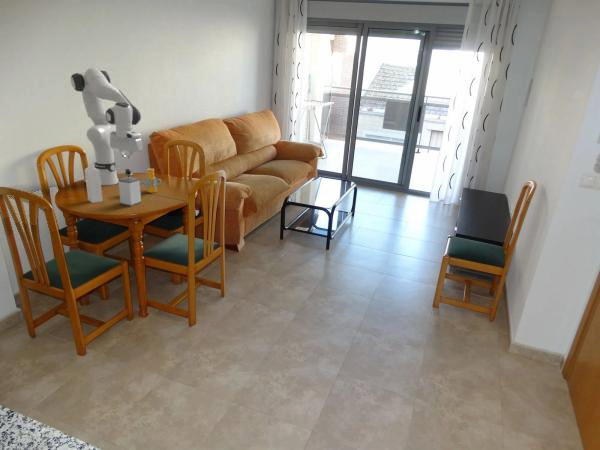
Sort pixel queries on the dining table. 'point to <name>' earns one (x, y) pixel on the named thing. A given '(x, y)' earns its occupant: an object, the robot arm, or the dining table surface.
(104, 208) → the dining table surface
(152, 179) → the yellow and blue toy
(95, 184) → the milk
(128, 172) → the plunger
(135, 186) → the white box with knob
